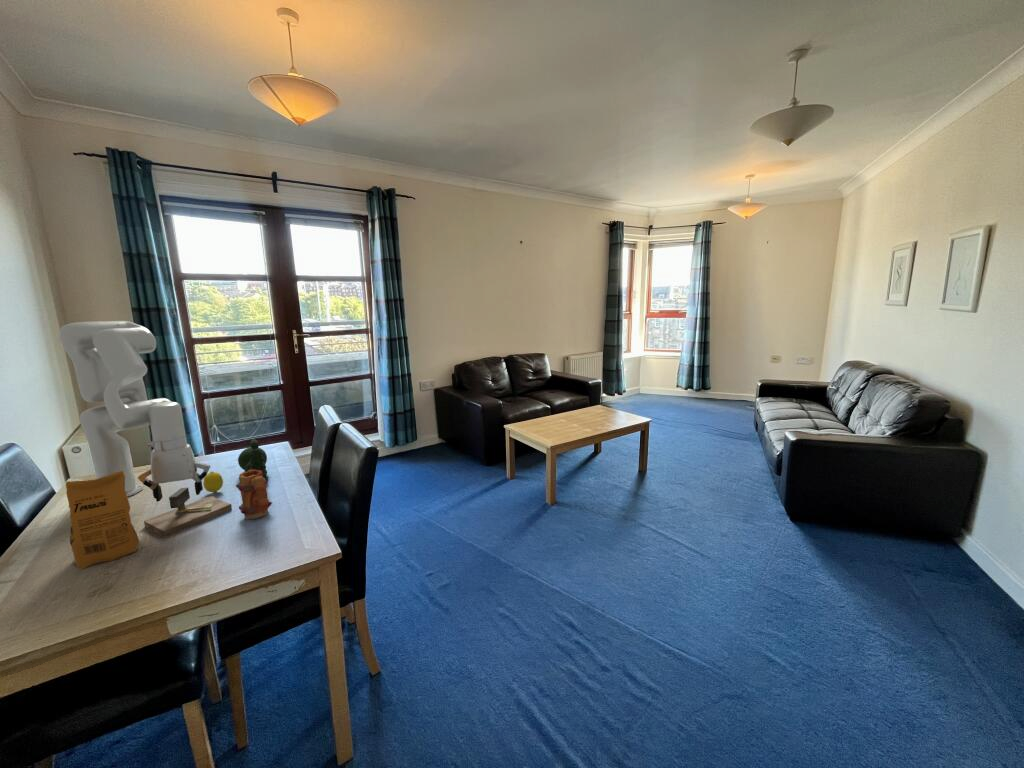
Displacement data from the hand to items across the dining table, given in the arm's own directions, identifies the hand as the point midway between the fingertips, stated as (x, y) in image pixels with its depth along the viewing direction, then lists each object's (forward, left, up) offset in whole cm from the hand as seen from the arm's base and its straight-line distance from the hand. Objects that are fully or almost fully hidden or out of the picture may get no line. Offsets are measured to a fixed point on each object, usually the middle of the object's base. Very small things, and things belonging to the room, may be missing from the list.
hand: (179, 496), depth 125 cm
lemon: (-10, +14, -7) cm, 19 cm away
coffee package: (+4, -19, -7) cm, 21 cm away
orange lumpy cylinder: (+21, +11, -7) cm, 25 cm away
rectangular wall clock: (+2, +1, -7) cm, 8 cm away
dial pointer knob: (+3, +2, -5) cm, 6 cm away
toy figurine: (-9, +28, -8) cm, 30 cm away
